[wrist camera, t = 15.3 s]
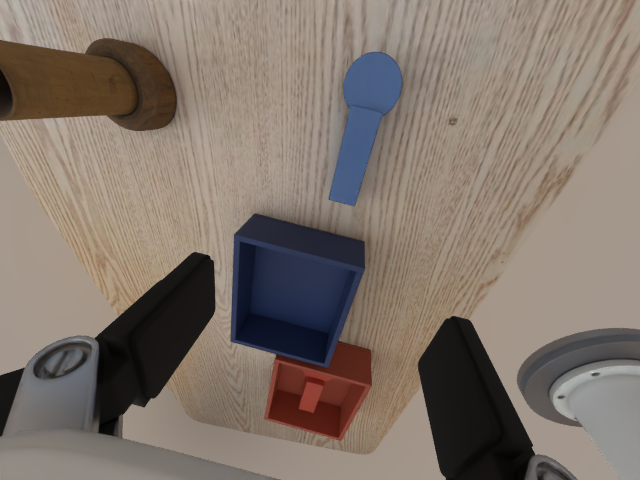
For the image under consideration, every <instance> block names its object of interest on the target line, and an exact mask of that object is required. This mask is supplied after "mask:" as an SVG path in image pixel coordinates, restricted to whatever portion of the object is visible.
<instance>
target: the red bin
mask: <svg viewBox="0 0 640 480" xmlns="http://www.w3.org/2000/svg"><path fill="white" fill-rule="evenodd" d="M304 370H306V371H309V372H313V373H317V374H320V375H324V376H328V377H331V378H332V379H331V380H329V381H326V382H324V387H323V389H322V392H321V394H320V397H319V400H318V402H317V405H316V408H315V410H314V413H312V412H308V411H305V410H301V409H299V404H300V399H301V395H302V390H303V387H304V384H305V380H306V377H307V376H306V375H305V374H304ZM371 386H372V375H371V350H367V349H364V348H360V347H356V346H353V345H349V344H345V343H341V342H337V345H336V348H335V350H334V353H333V356H332V359H331V361H330V364H329V367H328V368H326V367H322V366H318V365H315V364H311V363H307V362H304V361H300V360H296V359H293V358H289V357H285V356H282V355H278V354H277V355H276V358H275V362H274V368H273V373H272V379H271V384H270V389H269V395H268V400H267V406H266V411H265V416H264V419H265V420H269V421H272V422H276V423H279V424H283V425H287V426H290V427H294V428H297V429H301V430H304V431H308V432H311V433H315V434H319V435H322V436H326V437H329V438H333V439H336V440H340V441H341V440H342V439H343V437H344V435H345V433H346V431H347V430H348V428H349V426H350V424H351V422H352V421H353V419H354V417H355V415H356V413H357V412H358V410H359V408H360V406H361V404H362V402H363V401H364V399H365V397H366V395H367V393H368V392H369V390H370V388H371Z"/></svg>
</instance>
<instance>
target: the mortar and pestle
mask: <svg viewBox="0 0 640 480" xmlns="http://www.w3.org/2000/svg"><path fill="white" fill-rule="evenodd" d="M175 107H176V96H175V90H174V87H173V84H172V81H171V78H170V76H169V74H168V73H167V71H166V69H165V68H164V67H163V65H162V64H161V63H160V62H159V60H158V59H157V58H156V57H155V56H154V55H153V54H152V53H150V52H149V51H148V50H146V49H145V48H143V47H141V46H139V45H136V44H133V43H129V42H124V41H119V40H115V39H108V38H105V39H99V40H96V41H94V42H93V43H92V44H91V45H90V46H89V47H88V49H87V51H86V53H85V54H81V53H75V52H68V51H62V50H56V49H50V48H44V47H38V46H32V45H26V44H20V43H14V42H8V41H2V40H0V121H6V120H24V119H42V118H61V117H79V116H100V115H107V116H108V117H109V118H110V119H111V120H112V121H114V122H115V123H116V124H118V125H120V126H122V127H124V128H126V129H129V130H134V131H144V130H153V129H159V128H162V127H164V126H166V125H167V124H168V123H169V122H170V121H171V120H172V118H173V116H174V112H175Z"/></svg>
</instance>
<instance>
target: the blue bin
mask: <svg viewBox="0 0 640 480" xmlns="http://www.w3.org/2000/svg"><path fill="white" fill-rule="evenodd" d="M364 269H365V243H364V241H360V240H356V239H352V238H348V237H344V236H341V235H337V234H333V233H329V232H325V231H321V230H317V229H313V228H309V227H305V226H301V225H298V224H294V223H290V222H286V221H282V220H278V219H274V218H270V217H266V216H262V215H258V214H254V215H253V216H252V217H251V218H250V219H249V220H248V221H247V222H246V223H245V224H244V225H243V226H242V227H241V228H240V229H239V230H238V231H237V232H236V233H235V234H234V259H233V287H232V316H231V342H234V343H238V344H241V345H245V346H249V347H252V348H256V349H260V350H263V351H267V352H271V353H274V354H278V355H282V356H285V357H289V358H293V359H296V360H300V361H304V362H307V363H311V364H315V365H318V366H322V367H326V368H328V367H329V364H330V361H331V359H332V356H333V353H334V350H335V348H336V345H337V342H338V340H339V337H340V334H341V332H342V329H343V326H344V323H345V321H346V318H347V315H348V313H349V310H350V307H351V305H352V302H353V299H354V296H355V294H356V291H357V288H358V286H359V283H360V280H361V278H362V275H363V272H364Z"/></svg>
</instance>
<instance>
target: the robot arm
mask: <svg viewBox="0 0 640 480" xmlns="http://www.w3.org/2000/svg"><path fill="white" fill-rule="evenodd" d="M214 312H215V277H214V261H213V260H211V258H210V256H209V255H205V254H201V253H197V252H193V253H192V254H191V255H190V256H188V257H187V258H186V259H185V260H184V261H183V262H182V263H181V264H179V265H178V266H177V267H176V268H175V269H174V270H173V271H172V272H171V273H169V274H168V275H167V276H166V277H165V278H164V279H163V280H160V281H159V282H158V283H156V284H155V285H154V286H153V287H152V288H151V289H150V290H148V291H147V292H146V293H145V294H144V295H143V296H142V297H141V298H139V299H138V300H137V301H136V302H135V303H134V304H133V305H131V306H130V307H129V308H128V309H127V310H126V311H125V312H124V313H122V314H121V315H120V316H119V317H118V318H117V319H116V320H115V321H113V322H112V323H111V324H110V325H109V326H108V327H107V328H106V329H104V330H103V331H102V332H101V333H100V334H99V335H98V336H97V337H95V338H92V337H89V336H73V337H68V338H65V339H62V340H58V341H56V342H54V343H52V344H50V345H48V346H46V347H45V348H43V349H42V350H41V351H39V352H38V353H36V354H35V356H33V357H32V359H31V360H30V361H29V362H28V364H27V365H26V367H25V368H22V369H19V370H16V371H13V372H10V373H6V374H3V375H1V376H0V480H279V479H276V478H272V477H268V476H264V475H260V474H257V473H254V472H250V471H246V470H243V469H239V468H235V467H231V466H227V465H224V464H220V463H216V462H213V461H209V460H205V459H201V458H198V457H194V456H190V455H186V454H183V453H179V452H175V451H171V450H168V449H164V448H160V447H155V446H151V445H147V444H143V443H139V442H135V441H131V440H127V439H123V438H122V426H123V414H124V413H125V412H126V411H127V409H128V408H129V406H130V405H131V404H134V405H138V406H142V407H145V406H146V404H147V403H148V401H149V400H150V399H151V398H155V397H157V396H158V394H159V393H160V392H161V390H162V389H163V387H164V386H165V385H166V383H167V382H168V380H169V379H170V377H171V376H172V374H173V373H174V372H175V370H176V369H177V367H178V366H179V364H180V363H181V361H182V360H183V359H184V357H185V356H186V354H187V353H188V351H189V350H190V348H191V347H192V345H193V344H194V343H195V341H196V340H197V338H198V337H199V335H200V334H201V332H202V331H203V330H204V328H205V327H206V325H207V324H208V322H209V321H210V319H211V318H212V316H213V315H214ZM418 370H419V375H420V379H421V384H422V389H423V393H424V398H425V403H426V407H427V412H428V417H429V421H430V425H431V430H432V435H433V440H434V445H435V449H436V454H437V459H438V463H439V468H440V471H441V473H442V474H443V476H445V477H446V480H577V479H576V477H575V476H574V475H573V474H572V473H571V472H570V471H568V470H567V469H566V468H565V467H564V466H562V465H561V464H560V463H558V462H557V461H556V460H554V459H552V458H550V457H547V456H545V455H535V453H534V451H533V450H532V446H533V444H532V442H531V440H530V438H529V436H528V434H527V432H526V430H525V428H524V427H523V424H522V422H521V420H520V418H519V416H518V414H517V412H516V411H515V408H514V407H513V404H512V402H511V400H510V398H509V396H508V394H507V392H506V390H505V388H504V387H503V385H502V383H501V380H500V378H499V376H498V374H497V372H496V370H495V368H494V366H493V365H492V362H491V360H490V358H489V356H488V354H487V352H486V350H485V348H484V347H483V344H482V343H481V340H480V339H479V336H478V334H477V332H476V330H475V328H474V326H473V324H472V323H471V321H470V320H468V319H464V318H460V317H456V316H452V317H450V319H446V320H445V321H444V322H443V324H442V325H441V327H440V329H439V330H438V332H437V333H436V335H435V336H434V338H433V339H432V341H431V342H430V344H429V346H428V347H427V349H426V350H425V352H424V353H423V355H422V356H421V358H420V360H419V363H418ZM549 396H550V400H551V402H552V403H553V405H554V407H555V408H556V409H557V411H558V412H559V413H561V414H562V415H564V416H566V417H568V418H570V419H572V420H575V421H579V422H580V423H581V425H582V426H583V428H584V429H585V431H586V432H587V434H588V435H589V436H590V438H591V439H592V441H593V442H594V444H595V445H596V447H597V448H598V450H599V451H600V453H601V454H602V456H603V457H604V458H605V460H606V461H607V463H608V464H609V466H610V467H611V469H612V470H613V471H614V473H615V475H616V476H617V477H618V479H619V480H640V361H638V360H629V359H615V360H604V361H598V362H593V363H590V364H586V365H583V366H580V367H577V368H575V369H573V370H571V371H569V372H567V373H565V374H564V375H562V376H561V377H559V378H558V379H557V380H556V381H555V382H554V383H553V385H552V387H551V389H550V393H549Z"/></svg>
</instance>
